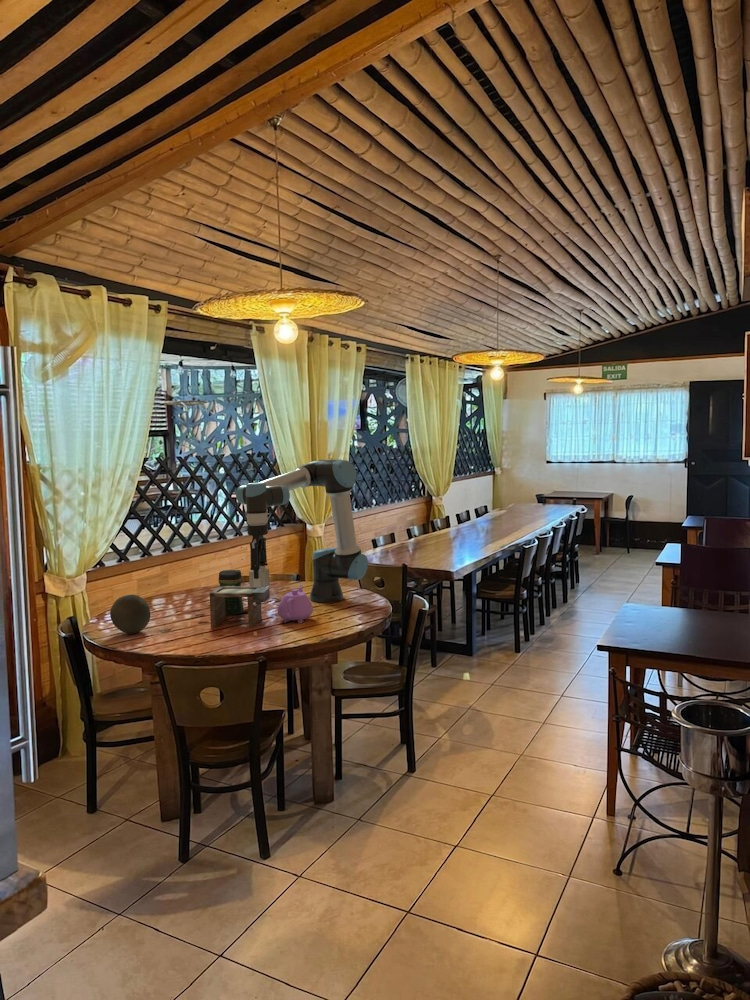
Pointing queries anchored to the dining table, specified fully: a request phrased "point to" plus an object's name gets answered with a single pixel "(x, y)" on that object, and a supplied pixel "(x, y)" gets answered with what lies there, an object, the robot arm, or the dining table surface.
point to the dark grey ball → (130, 614)
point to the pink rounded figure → (295, 606)
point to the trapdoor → (258, 594)
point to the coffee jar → (231, 579)
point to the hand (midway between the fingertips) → (259, 584)
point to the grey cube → (264, 578)
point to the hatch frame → (219, 605)
